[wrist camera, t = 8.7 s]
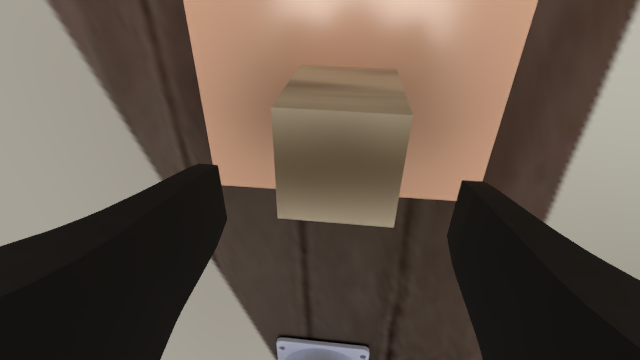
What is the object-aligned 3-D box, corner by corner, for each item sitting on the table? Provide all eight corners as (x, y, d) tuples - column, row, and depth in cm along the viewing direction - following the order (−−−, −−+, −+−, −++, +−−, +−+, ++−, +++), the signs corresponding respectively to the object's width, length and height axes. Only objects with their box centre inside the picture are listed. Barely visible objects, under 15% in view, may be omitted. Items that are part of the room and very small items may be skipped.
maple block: (384, 155, 18) (393, 227, 13) (301, 150, 18) (277, 217, 13) (396, 69, 16) (412, 115, 10) (300, 65, 16) (270, 107, 11)
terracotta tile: (470, 190, 20) (475, 202, 19) (223, 174, 21) (216, 184, 20) (525, -3, 15) (538, -1, 14) (193, -8, 16) (182, -7, 15)
